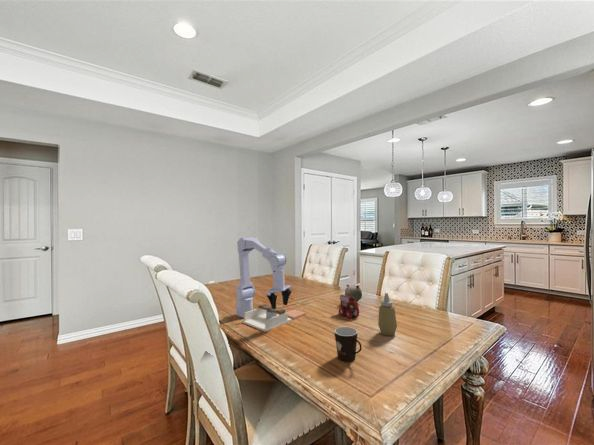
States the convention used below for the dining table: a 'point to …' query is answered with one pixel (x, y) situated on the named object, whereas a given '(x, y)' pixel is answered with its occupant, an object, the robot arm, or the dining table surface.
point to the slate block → (270, 314)
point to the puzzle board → (264, 319)
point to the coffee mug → (346, 343)
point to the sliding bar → (269, 308)
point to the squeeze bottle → (387, 317)
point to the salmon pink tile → (295, 314)
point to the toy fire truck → (348, 306)
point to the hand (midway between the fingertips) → (279, 306)
